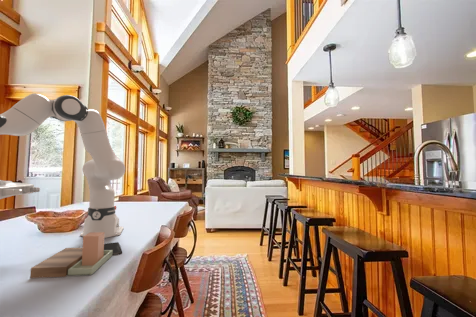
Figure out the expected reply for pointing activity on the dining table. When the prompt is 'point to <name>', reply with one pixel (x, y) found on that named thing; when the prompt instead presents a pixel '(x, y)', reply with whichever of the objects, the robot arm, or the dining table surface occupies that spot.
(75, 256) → the platform
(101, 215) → the robot arm
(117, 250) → the phone
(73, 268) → the box
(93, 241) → the terracotta block
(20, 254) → the dining table surface
